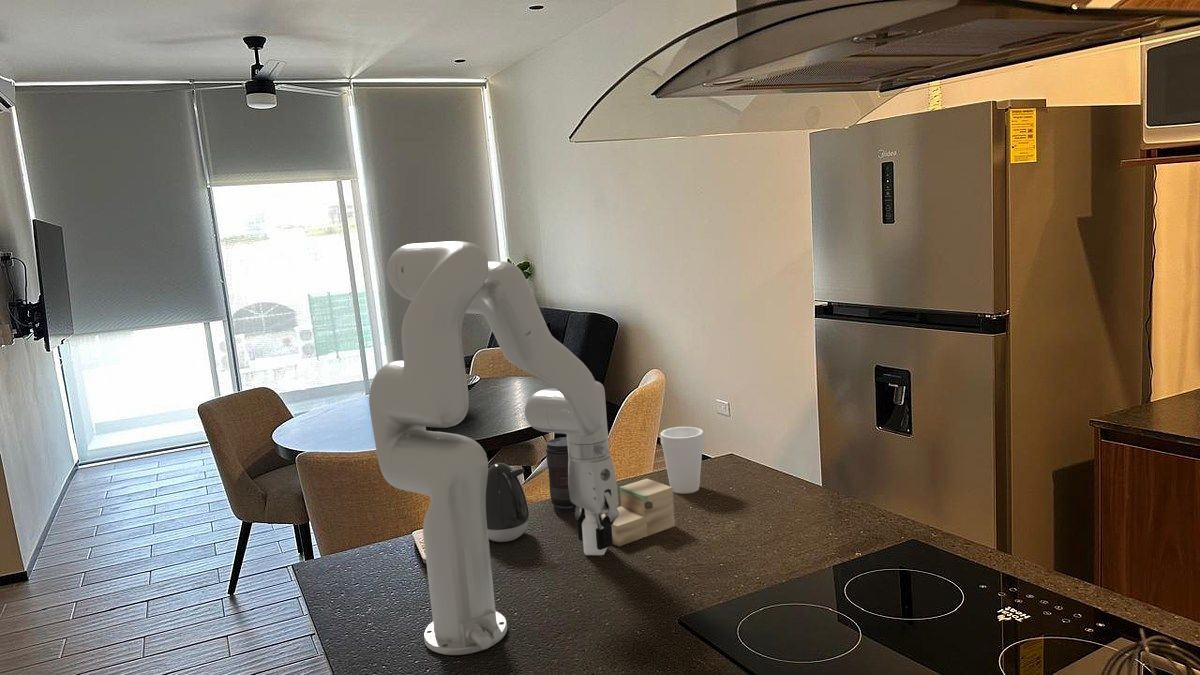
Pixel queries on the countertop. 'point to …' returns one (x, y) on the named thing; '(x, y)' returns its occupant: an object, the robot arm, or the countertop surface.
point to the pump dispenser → (505, 504)
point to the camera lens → (559, 474)
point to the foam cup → (683, 457)
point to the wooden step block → (643, 511)
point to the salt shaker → (590, 534)
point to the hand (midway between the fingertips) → (595, 541)
